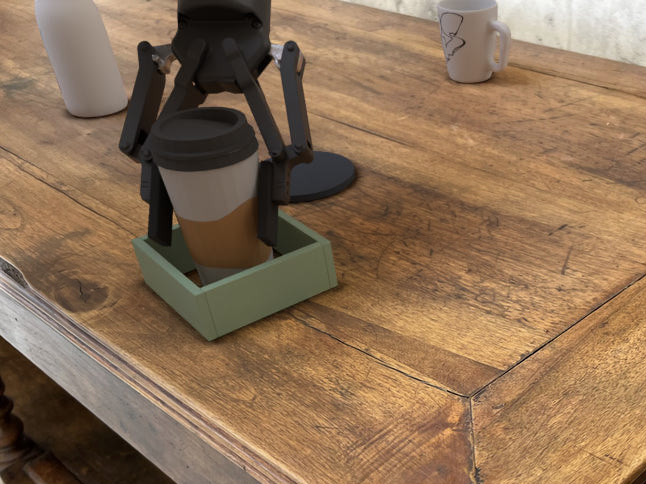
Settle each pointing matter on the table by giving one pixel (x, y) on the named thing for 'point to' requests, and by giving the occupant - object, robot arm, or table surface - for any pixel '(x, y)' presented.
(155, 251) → the frame
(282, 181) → the robot arm
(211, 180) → the coffee cup
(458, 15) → the mug
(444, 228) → the table surface
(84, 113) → the milk bottle
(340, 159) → the slate mat
